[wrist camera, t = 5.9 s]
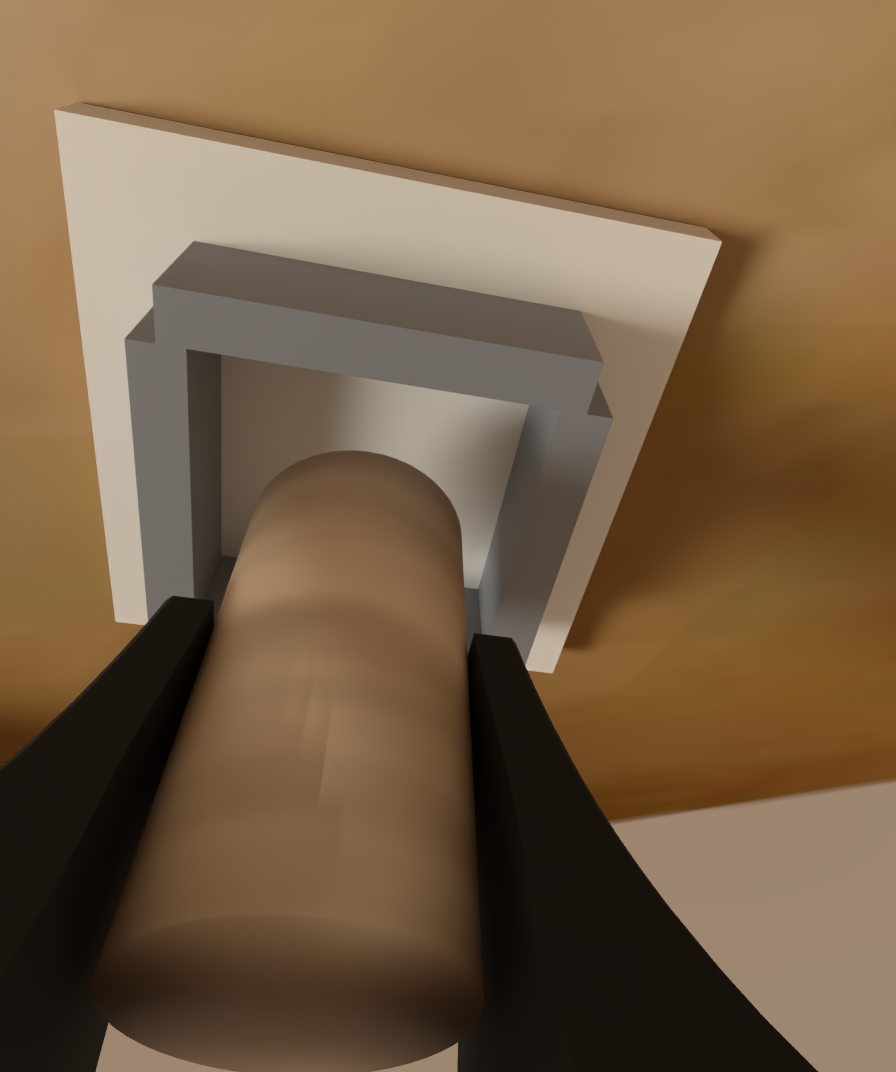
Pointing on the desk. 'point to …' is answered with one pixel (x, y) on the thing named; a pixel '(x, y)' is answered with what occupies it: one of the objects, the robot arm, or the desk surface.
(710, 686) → the desk surface
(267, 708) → the rail end peg
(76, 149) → the cup bracket
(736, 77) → the desk surface
